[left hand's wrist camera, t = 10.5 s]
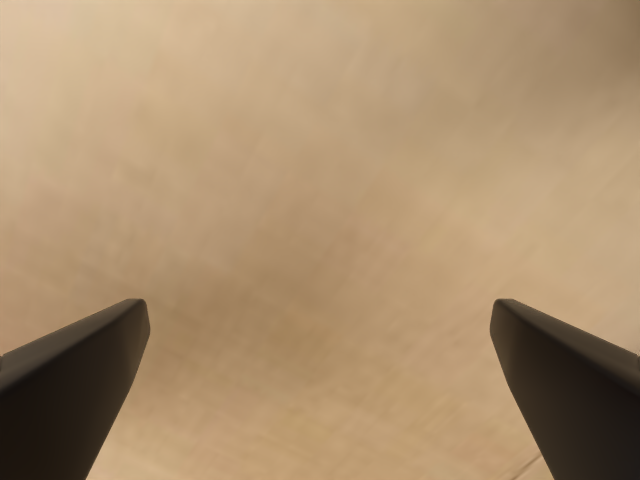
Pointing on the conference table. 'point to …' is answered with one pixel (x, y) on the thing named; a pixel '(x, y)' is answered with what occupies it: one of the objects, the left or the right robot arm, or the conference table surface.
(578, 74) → the conference table surface
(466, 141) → the conference table surface
